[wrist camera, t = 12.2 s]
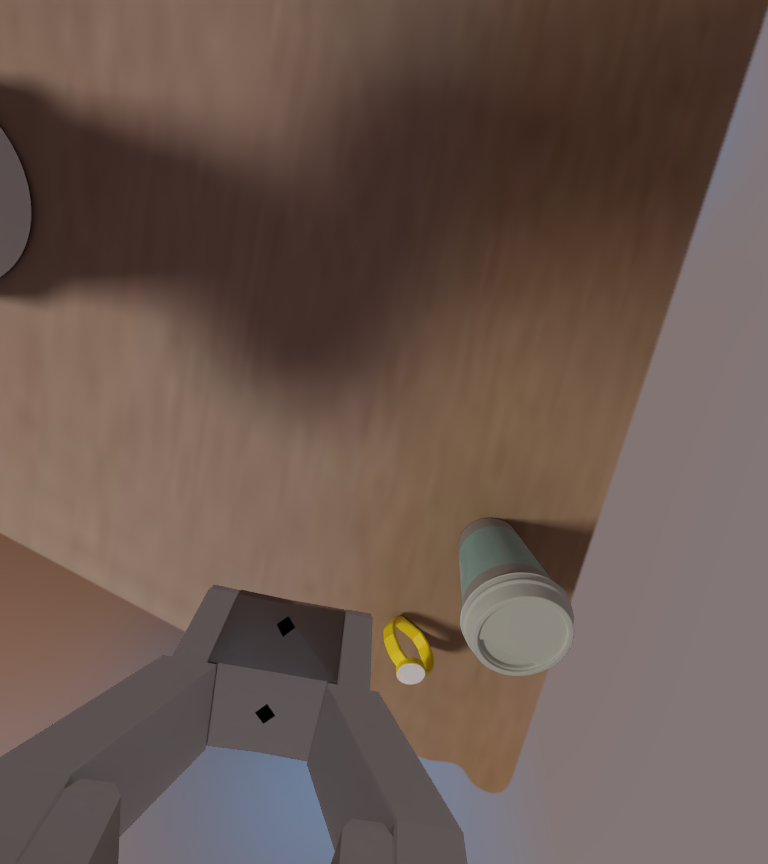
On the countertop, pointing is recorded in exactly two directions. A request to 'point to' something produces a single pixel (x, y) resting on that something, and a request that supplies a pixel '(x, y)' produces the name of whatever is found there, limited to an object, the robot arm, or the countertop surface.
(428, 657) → the watch
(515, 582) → the coffee cup
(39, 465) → the countertop surface
